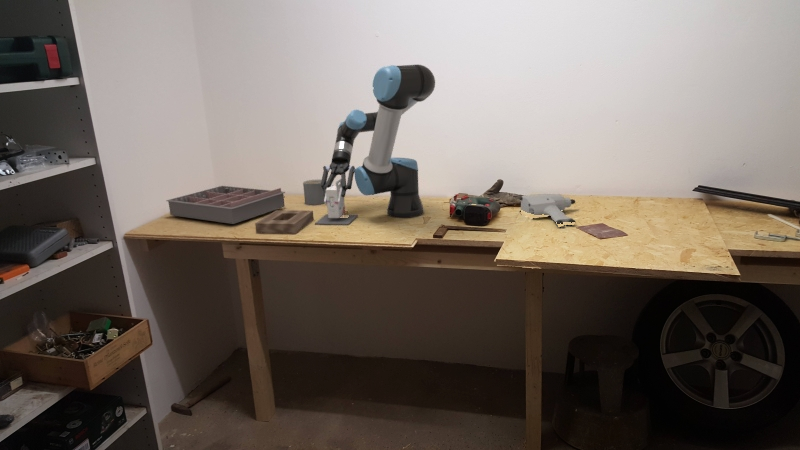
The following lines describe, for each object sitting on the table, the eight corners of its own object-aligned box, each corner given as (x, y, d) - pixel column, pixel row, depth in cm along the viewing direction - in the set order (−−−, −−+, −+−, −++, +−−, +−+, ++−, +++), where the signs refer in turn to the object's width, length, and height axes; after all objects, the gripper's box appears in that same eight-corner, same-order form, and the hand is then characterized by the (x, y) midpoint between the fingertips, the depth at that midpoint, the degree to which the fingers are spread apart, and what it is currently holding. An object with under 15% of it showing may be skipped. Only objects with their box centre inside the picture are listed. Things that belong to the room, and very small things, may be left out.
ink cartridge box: (334, 212, 243) (331, 177, 239) (345, 212, 242) (343, 177, 238) (327, 218, 235) (324, 182, 231) (339, 218, 234) (336, 182, 230)
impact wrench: (606, 216, 217) (570, 188, 238) (552, 223, 211) (519, 194, 232) (602, 235, 221) (567, 205, 242) (549, 243, 215) (517, 212, 236)
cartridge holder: (313, 220, 241) (312, 210, 240) (295, 234, 222) (294, 223, 221) (277, 219, 244) (276, 210, 243) (256, 233, 225) (255, 223, 224)
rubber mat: (358, 216, 244) (358, 214, 244) (348, 225, 231) (348, 223, 230) (326, 215, 247) (326, 214, 247) (314, 224, 234) (314, 223, 233)
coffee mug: (301, 204, 268) (298, 183, 265) (312, 199, 277) (310, 179, 274) (326, 206, 263) (325, 184, 260) (337, 201, 272) (335, 179, 269)
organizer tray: (224, 201, 282) (221, 181, 279) (287, 209, 262) (285, 187, 259) (168, 218, 256) (164, 196, 253) (233, 228, 235) (230, 203, 233)
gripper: (365, 160, 245) (356, 208, 234) (324, 160, 249) (314, 207, 238) (360, 149, 239) (351, 198, 228) (318, 150, 243) (308, 198, 232)
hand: (332, 203), depth 233 cm, fingers closed on ink cartridge box, 5 cm apart
